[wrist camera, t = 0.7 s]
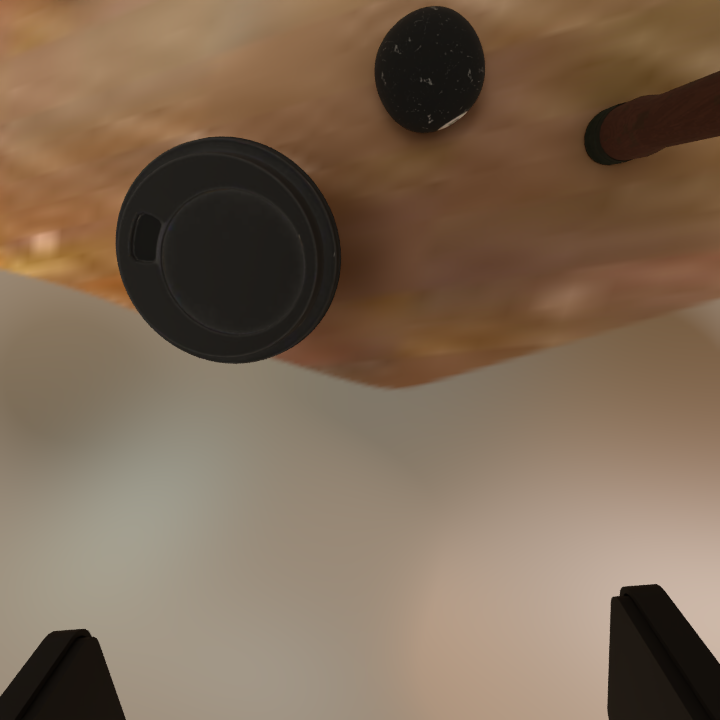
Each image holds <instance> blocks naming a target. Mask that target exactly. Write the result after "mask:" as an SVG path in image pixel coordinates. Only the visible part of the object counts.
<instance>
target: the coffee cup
mask: <svg viewBox="0 0 720 720" xmlns="http://www.w3.org/2000/svg"><path fill="white" fill-rule="evenodd" d="M116 255H117V262H118V267H119V271H120V275H121V278H122V281H123V284H124V286H125V289H126V291H127V293H128V295H129V297H130V299H131V301H132V303H133V304H134V306H135V307H136V309H137V311H138V312H139V313H140V315H141V316H142V317H143V319H144V320H145V321H146V322H147V323H148V324H149V325H150V327H151V328H153V329H154V330H155V331H156V332H157V333H158V334H159V335H160V336H161V337H163V338H164V339H165V340H167V341H168V342H169V343H171V344H172V345H174V346H176V347H177V348H179V349H181V350H183V351H185V352H187V353H189V354H191V355H194V356H196V357H199V358H202V359H206V360H209V361H214V362H220V363H233V364H237V363H250V362H256V361H260V360H264V359H267V358H270V357H273V356H275V355H278V354H280V353H282V352H284V351H286V350H288V349H290V348H292V347H293V346H295V345H296V344H298V343H299V342H301V341H302V340H303V339H304V338H306V337H307V336H308V335H309V334H310V333H311V332H312V331H313V330H314V329H315V328H316V326H317V325H318V324H319V323H320V321H321V320H322V318H323V317H324V316H325V314H326V312H327V310H328V309H329V307H330V305H331V302H332V300H333V298H334V295H335V292H336V289H337V285H338V281H339V275H340V267H341V248H340V240H339V235H338V230H337V226H336V223H335V220H334V217H333V214H332V212H331V209H330V207H329V205H328V203H327V201H326V199H325V198H324V196H323V194H322V193H321V191H320V190H319V188H318V187H317V186H316V184H315V183H314V182H313V180H312V179H311V178H310V177H309V176H308V175H307V174H306V173H305V172H304V171H303V170H302V169H301V168H300V167H299V166H298V165H297V164H295V163H294V162H293V161H292V160H290V159H289V158H287V157H286V156H284V155H283V154H281V153H280V152H278V151H276V150H274V149H272V148H270V147H268V146H266V145H263V144H261V143H258V142H254V141H251V140H247V139H242V138H236V137H208V138H203V139H198V140H194V141H190V142H187V143H183V144H181V145H178V146H176V147H174V148H172V149H170V150H168V151H166V152H164V153H163V154H161V155H160V156H158V157H157V158H156V159H154V160H153V161H152V162H151V163H149V164H148V165H147V166H146V167H145V168H144V169H143V170H142V172H141V173H140V174H139V175H138V176H137V178H136V179H135V181H134V182H133V184H132V185H131V187H130V188H129V190H128V192H127V194H126V196H125V199H124V201H123V203H122V206H121V210H120V213H119V217H118V222H117V229H116Z"/></svg>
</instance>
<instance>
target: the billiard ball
mask: <svg viewBox="0 0 720 720" xmlns="http://www.w3.org/2000/svg"><path fill="white" fill-rule="evenodd" d="M484 75H485V60H484V54H483V49H482V46H481V43H480V40H479V38H478V36H477V34H476V32H475V30H474V29H473V27H472V26H471V25H470V23H469V22H468V21H467V20H466V19H465V18H464V17H463V16H462V15H460V14H459V13H457V12H456V11H454V10H452V9H449V8H446V7H440V6H431V7H425V8H421V9H418V10H416V11H414V12H412V13H410V14H408V15H406V16H405V17H403V18H402V19H401V20H400V21H398V22H397V23H396V24H395V25H394V26H393V27H392V28H391V29H390V31H389V32H388V33H387V35H386V36H385V38H384V39H383V41H382V43H381V45H380V47H379V50H378V53H377V56H376V61H375V82H376V87H377V91H378V94H379V97H380V99H381V101H382V104H383V105H384V107H385V109H386V110H387V112H388V113H389V114H390V116H391V117H392V118H393V119H394V120H395V121H396V122H397V123H398V124H400V125H401V126H403V127H404V128H406V129H408V130H411V131H414V132H420V133H428V132H434V131H438V130H441V129H444V128H446V127H448V126H450V125H452V124H453V123H455V122H456V121H458V120H459V119H460V118H461V117H463V116H464V115H465V114H466V113H467V112H468V111H469V109H470V108H471V107H472V106H473V104H474V103H475V101H476V100H477V98H478V96H479V94H480V91H481V89H482V86H483V81H484Z"/></svg>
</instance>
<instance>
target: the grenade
mask: <svg viewBox="0 0 720 720" xmlns="http://www.w3.org/2000/svg"><path fill="white" fill-rule="evenodd" d="M717 136H720V71H718V72H716V73H713V74H711V75H708V76H706V77H703V78H701V79H698V80H696V81H693V82H690V83H688V84H685V85H683V86H680V87H678V88H675V89H673V90H670V91H668V92H665V93H663V94H660V95H647V96H641V97H639V98H636V99H634V100H632V101H629V102H626V103H622V104H618V105H616V106H613V107H610V108H608V109H606V110H603V111H601V112H600V113H599V114H597V115H596V116H595V117H594V118H593V120H592V121H591V122H590V124H589V126H588V128H587V130H586V134H585V147H586V151H587V153H588V154H589V156H590V157H591V158H592V159H593V160H594V161H596V162H598V163H600V164H604V165H612V164H618V163H622V162H627V161H629V160H632V159H635V158H641V157H646V156H649V155H652V154H654V153H656V152H658V151H660V150H661V149H663V148H665V147H669V146H674V145H679V144H683V143H688V142H693V141H698V140H703V139H707V138H712V137H717Z"/></svg>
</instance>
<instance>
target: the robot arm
mask: <svg viewBox="0 0 720 720" xmlns="http://www.w3.org/2000/svg"><path fill="white" fill-rule="evenodd" d="M607 709H608V716H609V720H720V664H719V663H718V661H717V660H716V658H715V657H714V656H713V654H712V653H711V652H710V650H709V649H708V648H707V646H706V645H705V644H704V643H703V641H702V640H701V639H700V638H699V636H698V634H697V633H696V632H695V630H694V629H693V628H692V626H691V625H690V624H689V622H688V621H687V620H686V619H685V617H684V616H683V615H682V613H681V612H680V611H679V609H678V608H677V607H676V605H675V604H674V603H673V601H672V600H671V599H670V597H669V596H668V595H667V593H666V592H665V591H664V590H663V589H662V588H661V586H659V585H657V584H652V585H639V586H627V587H622V588H621V590H620V596H617V597H612V599H611V615H610V646H609V676H608V706H607ZM0 720H126V719H125V716H124V713H123V710H122V707H121V705H120V701H119V699H118V696H117V693H116V690H115V687H114V684H113V682H112V679H111V676H110V673H109V670H108V667H107V664H106V662H105V659H104V656H103V653H102V650H101V647H100V644H99V642H98V640H97V638H95V637H92V636H91V635H90V633H89V631H88V630H86V629H76V630H64V631H53V632H52V633H50V634H48V635H47V636H46V637H45V639H44V640H43V641H42V642H41V644H40V645H39V646H38V648H37V649H36V650H35V652H34V653H33V654H32V656H31V657H30V658H29V660H28V661H27V662H26V663H25V665H24V666H23V667H22V669H21V670H20V671H19V673H18V674H17V675H16V677H15V678H14V679H13V681H12V682H11V683H10V685H9V686H8V687H7V689H6V690H5V691H4V692H3V694H2V695H1V696H0Z"/></svg>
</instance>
